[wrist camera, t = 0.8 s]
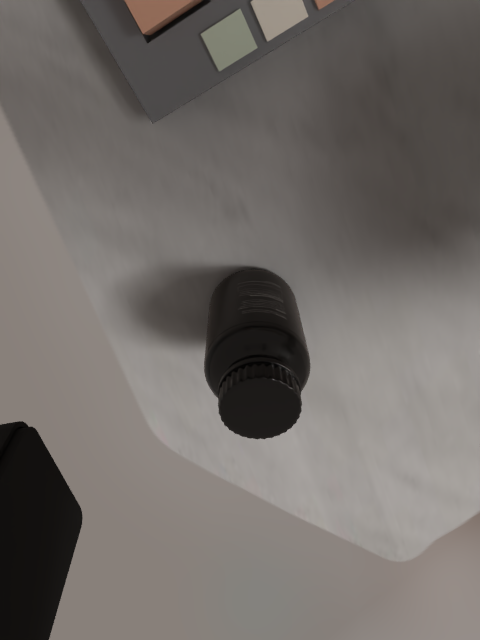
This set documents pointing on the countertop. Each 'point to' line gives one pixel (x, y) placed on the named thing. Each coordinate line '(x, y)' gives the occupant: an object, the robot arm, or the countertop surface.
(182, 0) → the key terracotta
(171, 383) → the countertop surface
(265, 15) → the keypad
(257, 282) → the supplement bottle
